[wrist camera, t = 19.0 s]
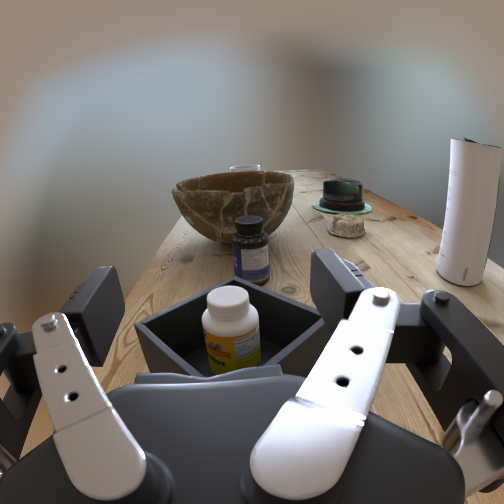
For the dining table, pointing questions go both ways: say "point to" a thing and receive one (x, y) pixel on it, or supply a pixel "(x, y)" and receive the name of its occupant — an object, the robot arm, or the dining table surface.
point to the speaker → (469, 211)
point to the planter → (245, 168)
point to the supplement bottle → (231, 330)
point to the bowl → (234, 201)
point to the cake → (347, 226)
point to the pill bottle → (251, 250)
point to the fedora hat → (342, 197)
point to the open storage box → (270, 330)
